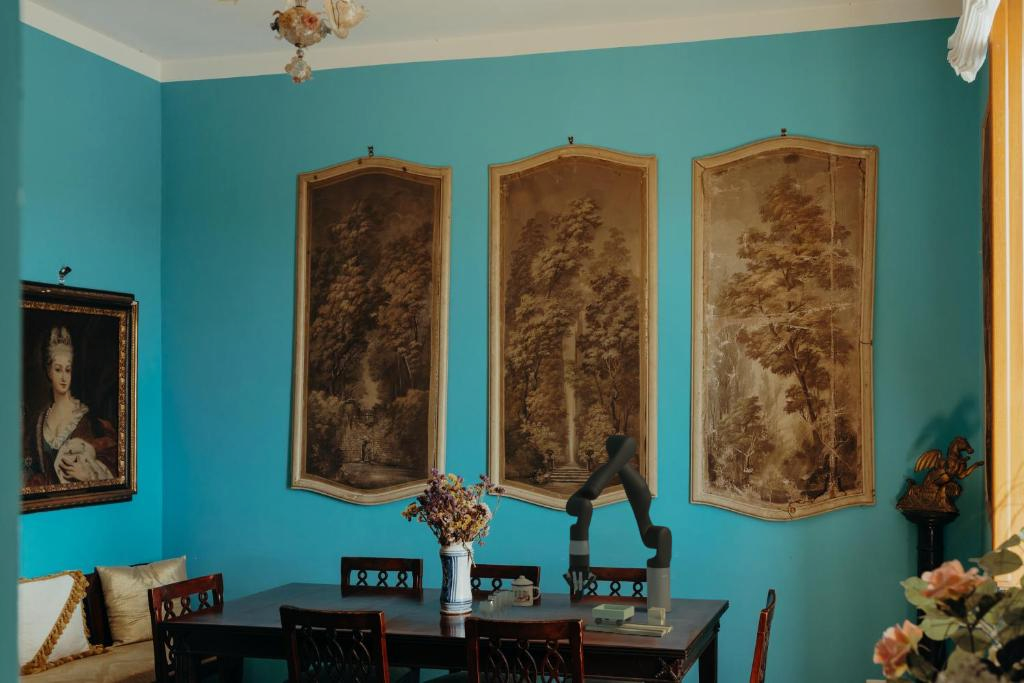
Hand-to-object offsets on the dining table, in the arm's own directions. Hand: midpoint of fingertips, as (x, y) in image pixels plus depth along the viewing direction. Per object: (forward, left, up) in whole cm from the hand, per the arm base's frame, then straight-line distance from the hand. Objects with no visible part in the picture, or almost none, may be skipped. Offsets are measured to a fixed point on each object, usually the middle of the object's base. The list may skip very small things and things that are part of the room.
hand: (579, 600), depth 390 cm
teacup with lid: (-33, -37, -10) cm, 51 cm away
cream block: (-13, +25, -9) cm, 30 cm away
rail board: (0, +19, -9) cm, 21 cm away
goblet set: (+17, -25, -10) cm, 32 cm away
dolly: (0, +13, -7) cm, 15 cm away
